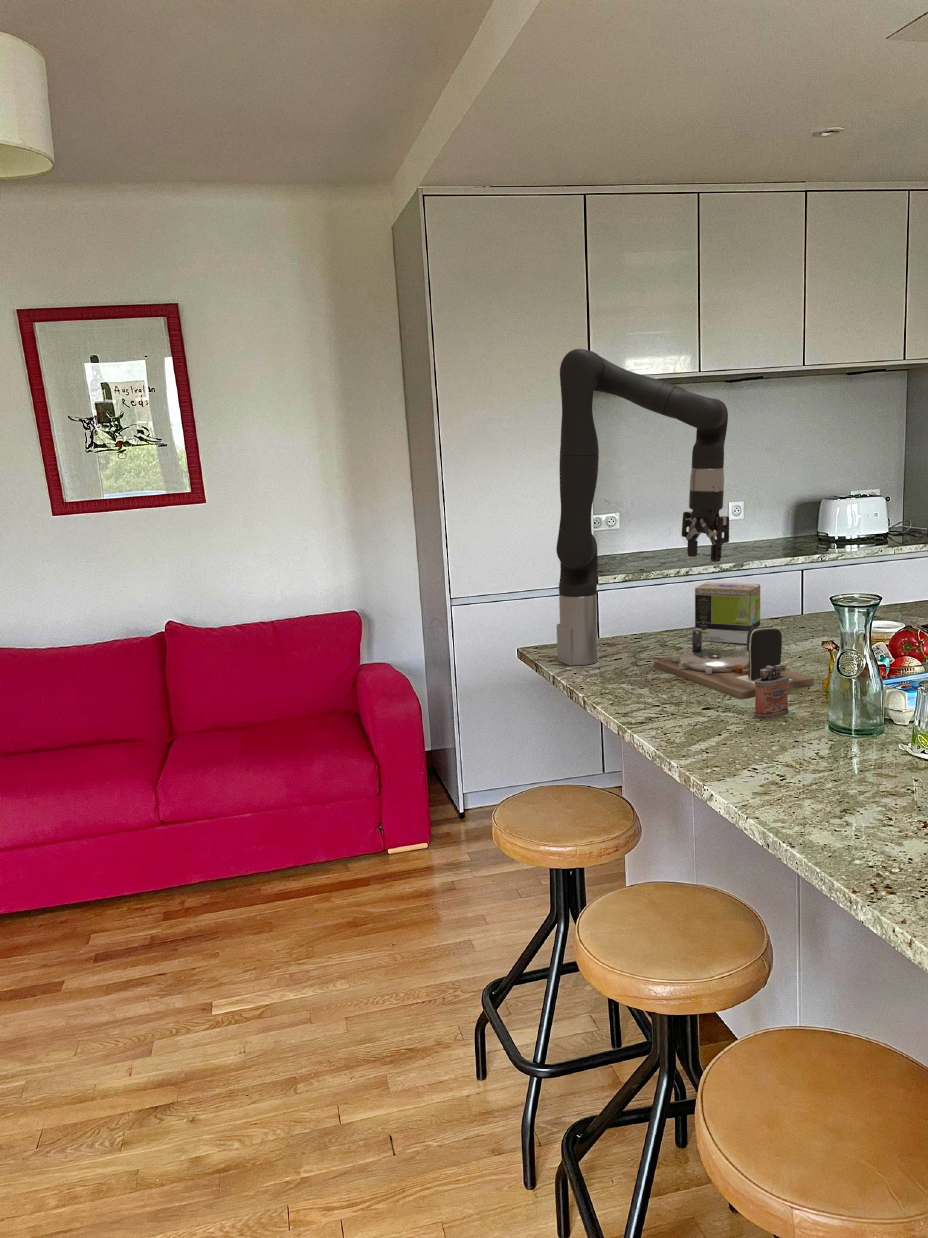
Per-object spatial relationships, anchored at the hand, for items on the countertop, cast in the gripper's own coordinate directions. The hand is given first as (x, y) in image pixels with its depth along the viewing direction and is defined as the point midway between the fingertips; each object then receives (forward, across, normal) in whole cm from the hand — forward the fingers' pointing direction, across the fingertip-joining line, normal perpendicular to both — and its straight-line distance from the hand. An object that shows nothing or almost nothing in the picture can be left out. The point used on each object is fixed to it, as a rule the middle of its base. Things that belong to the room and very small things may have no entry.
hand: (703, 558), depth 209 cm
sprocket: (+25, +2, +2) cm, 25 cm away
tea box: (+27, -21, +25) cm, 42 cm away
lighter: (+26, +35, -9) cm, 44 cm away
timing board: (+26, +8, +3) cm, 28 cm away
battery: (+24, +19, +3) cm, 31 cm away
